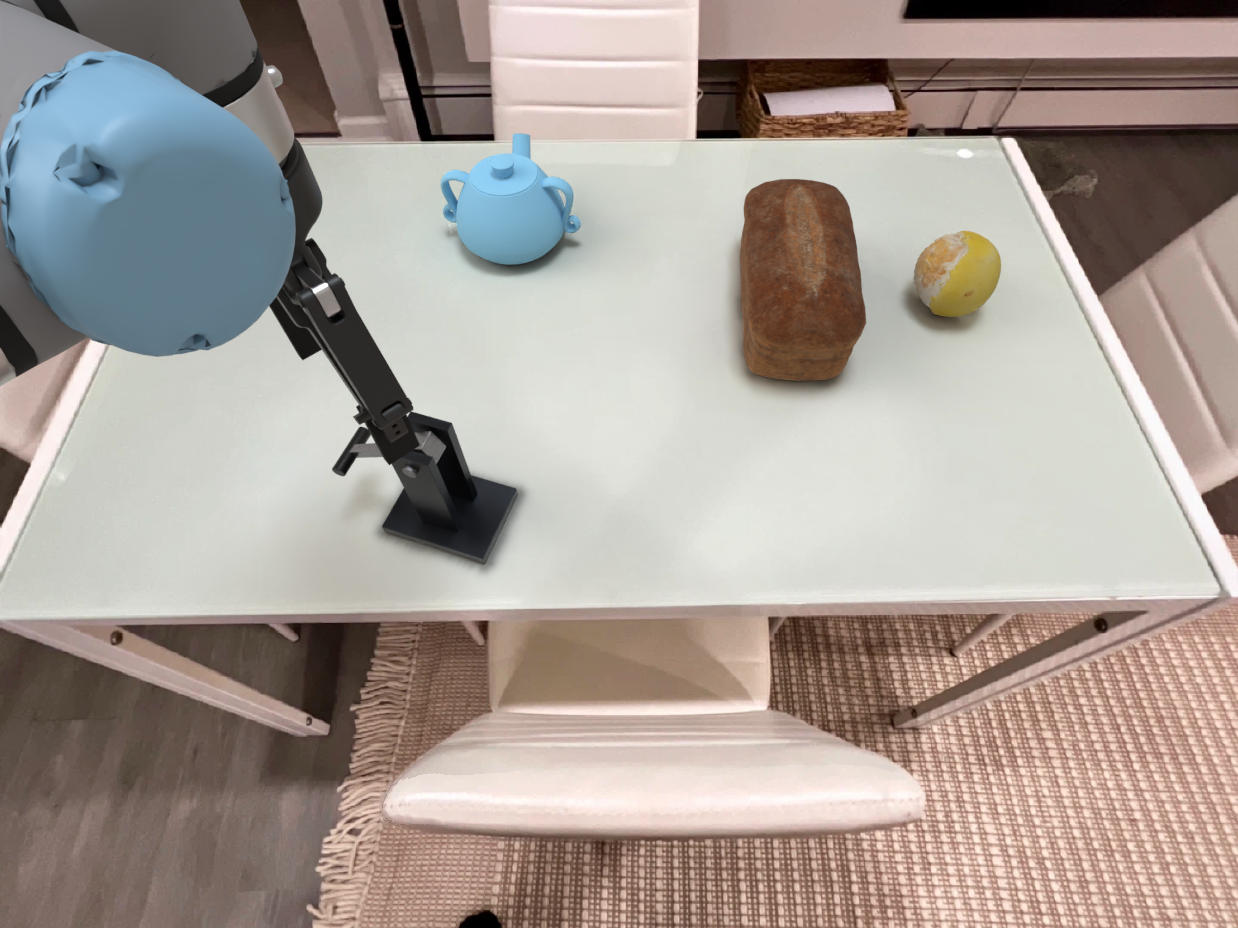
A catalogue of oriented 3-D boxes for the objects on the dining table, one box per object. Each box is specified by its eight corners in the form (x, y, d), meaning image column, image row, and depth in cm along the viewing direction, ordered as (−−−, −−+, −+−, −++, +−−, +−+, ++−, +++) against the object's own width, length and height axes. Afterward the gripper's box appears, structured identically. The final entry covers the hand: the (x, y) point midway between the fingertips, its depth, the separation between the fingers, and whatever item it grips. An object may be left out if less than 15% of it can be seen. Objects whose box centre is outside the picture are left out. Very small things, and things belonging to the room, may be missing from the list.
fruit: (966, 273, 97) (999, 213, 89) (990, 331, 92) (1026, 273, 83) (893, 275, 97) (918, 215, 89) (911, 333, 92) (940, 275, 83)
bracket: (384, 532, 77) (337, 459, 64) (422, 465, 81) (385, 385, 69) (485, 564, 75) (456, 494, 62) (518, 494, 79) (497, 416, 67)
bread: (829, 239, 101) (852, 162, 91) (851, 394, 86) (881, 324, 76) (732, 235, 102) (744, 159, 92) (737, 389, 87) (752, 318, 77)
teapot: (434, 269, 99) (411, 192, 88) (469, 180, 109) (452, 101, 99) (573, 281, 97) (566, 204, 87) (594, 189, 108) (591, 110, 97)
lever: (342, 479, 73) (325, 465, 71) (368, 437, 76) (353, 423, 74) (428, 478, 66) (412, 463, 64) (454, 432, 69) (439, 417, 67)
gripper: (412, 242, 34) (486, 472, 52) (199, 41, 44) (322, 291, 62) (269, 318, 32) (399, 532, 49) (77, 86, 42) (243, 333, 60)
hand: (356, 398), depth 56 cm, fingers open, 13 cm apart
